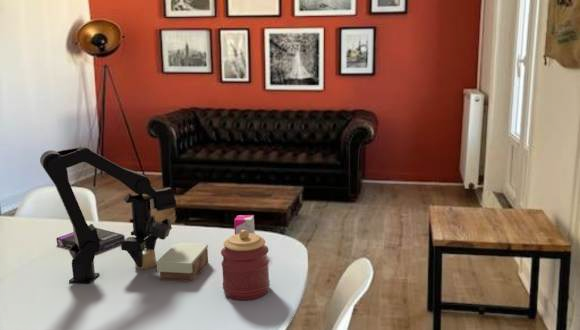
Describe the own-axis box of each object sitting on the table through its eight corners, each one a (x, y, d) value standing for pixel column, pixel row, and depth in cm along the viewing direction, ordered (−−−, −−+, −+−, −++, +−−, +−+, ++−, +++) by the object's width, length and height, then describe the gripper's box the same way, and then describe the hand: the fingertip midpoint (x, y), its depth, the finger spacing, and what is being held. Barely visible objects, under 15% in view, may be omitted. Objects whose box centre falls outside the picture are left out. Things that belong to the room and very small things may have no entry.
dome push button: (160, 263, 172) (158, 251, 171) (142, 270, 167) (140, 258, 166) (149, 259, 176) (147, 247, 175) (131, 266, 171) (129, 254, 171)
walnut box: (193, 281, 159) (191, 265, 158) (160, 279, 160) (159, 263, 159) (208, 262, 172) (207, 247, 171) (178, 261, 174) (176, 246, 173)
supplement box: (255, 247, 185) (254, 214, 182) (252, 253, 179) (251, 220, 176) (238, 246, 185) (237, 214, 183) (235, 253, 179) (233, 220, 177)
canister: (245, 277, 161) (243, 219, 157) (279, 288, 153) (277, 228, 149) (213, 292, 151) (209, 231, 147) (247, 305, 143) (244, 241, 139)
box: (57, 247, 192) (92, 256, 182) (55, 237, 191) (91, 246, 181) (90, 234, 204) (125, 243, 193) (89, 225, 203) (124, 233, 192)
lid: (191, 273, 157) (190, 263, 156) (157, 271, 159) (156, 261, 158) (208, 253, 172) (208, 244, 171) (177, 252, 173) (176, 243, 173)
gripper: (153, 224, 158) (158, 275, 161) (177, 206, 176) (181, 252, 179) (117, 223, 160) (122, 273, 163) (145, 205, 178) (148, 250, 181)
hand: (145, 261), depth 171 cm, fingers open, 8 cm apart
